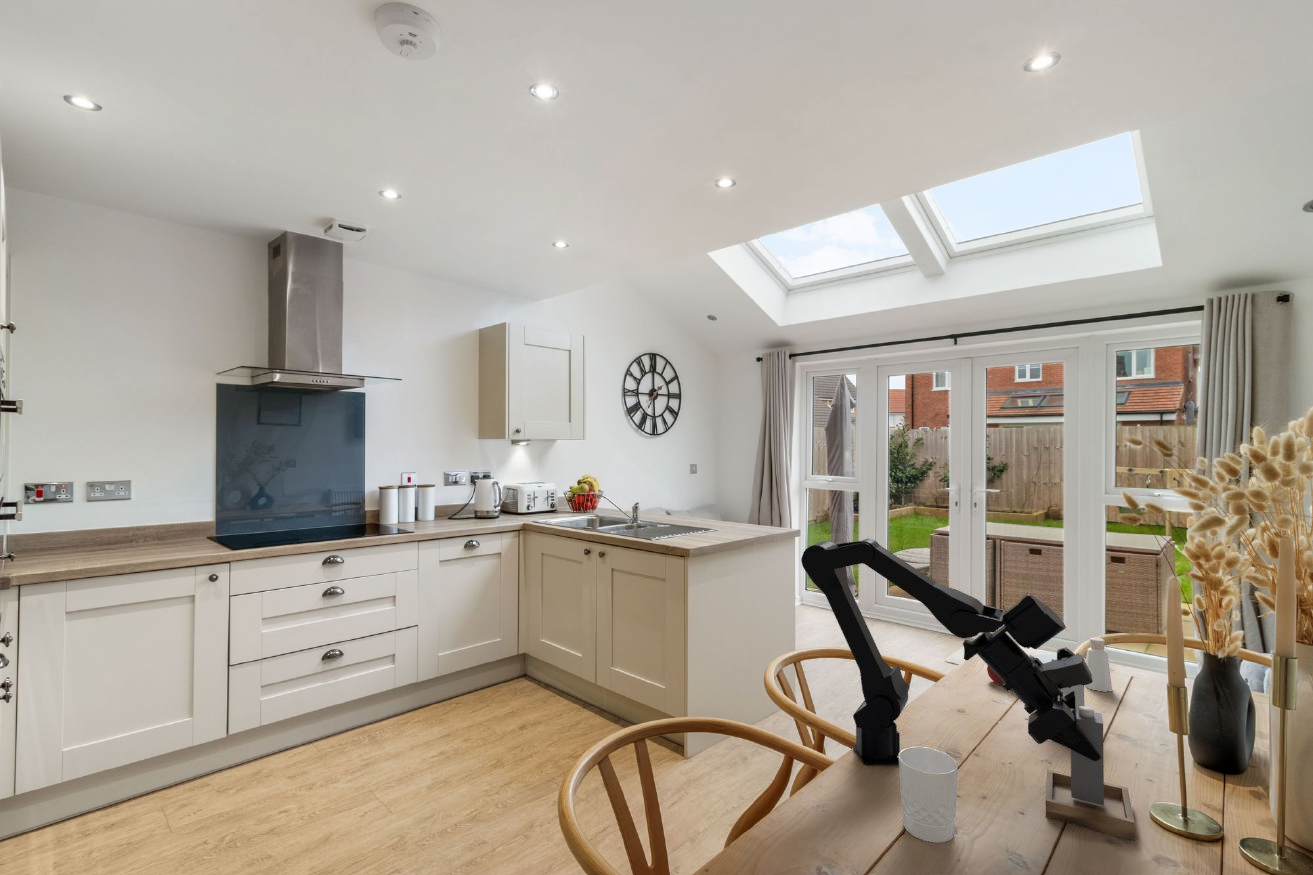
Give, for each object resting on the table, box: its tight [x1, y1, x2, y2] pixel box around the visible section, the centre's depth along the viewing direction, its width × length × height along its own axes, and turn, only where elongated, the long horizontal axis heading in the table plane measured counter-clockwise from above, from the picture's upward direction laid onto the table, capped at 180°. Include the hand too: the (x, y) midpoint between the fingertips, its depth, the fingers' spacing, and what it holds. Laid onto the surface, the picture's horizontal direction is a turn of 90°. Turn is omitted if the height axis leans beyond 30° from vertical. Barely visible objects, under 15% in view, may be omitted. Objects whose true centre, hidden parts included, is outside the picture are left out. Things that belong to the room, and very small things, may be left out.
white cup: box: [897, 746, 959, 844], centre depth 92 cm, size 8×8×10 cm
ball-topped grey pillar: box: [1070, 705, 1105, 806], centre depth 96 cm, size 4×4×13 cm
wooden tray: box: [1045, 768, 1136, 841], centre depth 96 cm, size 11×11×2 cm
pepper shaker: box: [1084, 637, 1113, 693], centre depth 143 cm, size 5×5×11 cm
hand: (1097, 753), depth 95 cm, fingers open, 4 cm apart
